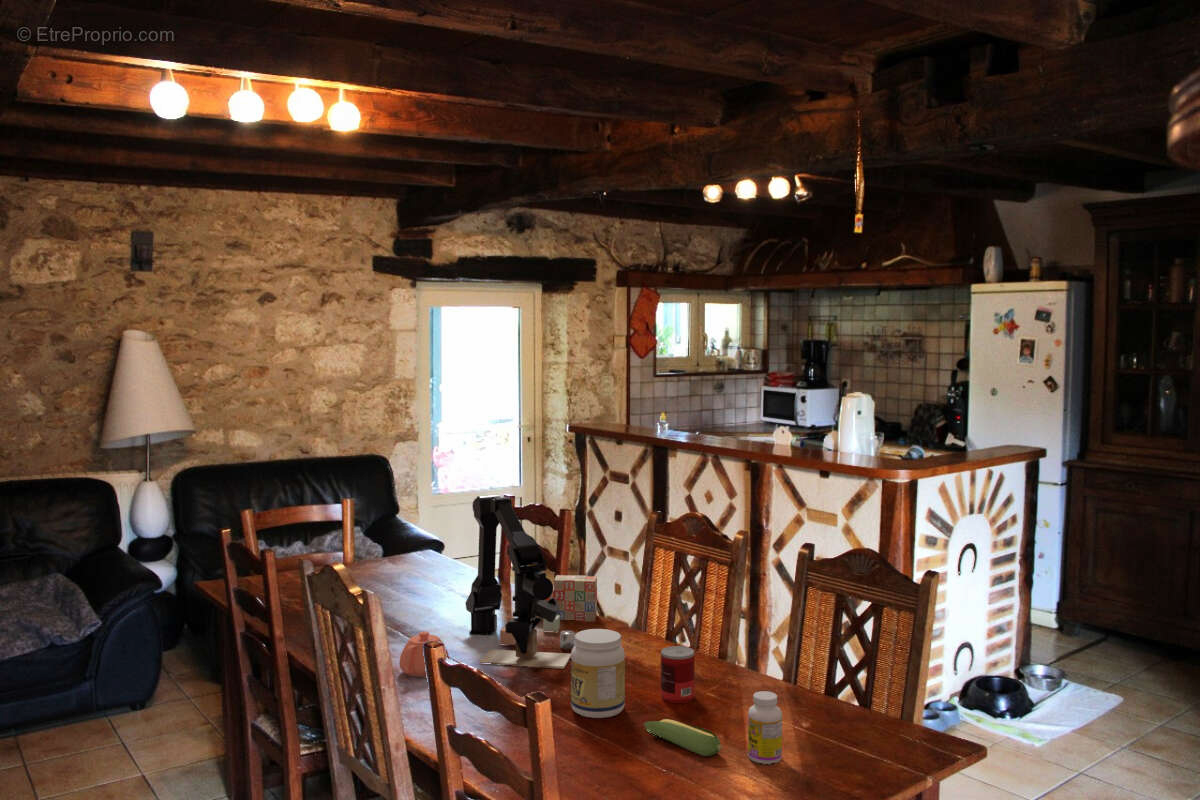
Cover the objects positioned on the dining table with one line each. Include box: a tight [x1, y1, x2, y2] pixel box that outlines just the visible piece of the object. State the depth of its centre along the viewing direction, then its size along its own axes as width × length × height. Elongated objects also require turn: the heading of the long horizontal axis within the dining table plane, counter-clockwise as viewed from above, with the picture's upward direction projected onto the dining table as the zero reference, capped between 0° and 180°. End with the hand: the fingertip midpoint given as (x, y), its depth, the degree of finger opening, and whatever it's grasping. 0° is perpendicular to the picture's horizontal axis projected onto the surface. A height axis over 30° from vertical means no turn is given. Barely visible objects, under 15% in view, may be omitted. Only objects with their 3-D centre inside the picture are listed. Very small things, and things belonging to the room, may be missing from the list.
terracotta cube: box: [499, 626, 516, 646], centre depth 268 cm, size 4×4×4 cm
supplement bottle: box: [747, 690, 783, 765], centre depth 194 cm, size 7×7×13 cm
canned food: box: [660, 645, 695, 704], centre depth 227 cm, size 8×8×11 cm
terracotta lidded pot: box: [399, 631, 450, 679], centre depth 243 cm, size 12×14×10 cm
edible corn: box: [643, 718, 723, 757], centre depth 201 cm, size 5×20×5 cm, turn 44°
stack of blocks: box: [536, 574, 598, 623], centre depth 291 cm, size 21×6×12 cm, turn 85°
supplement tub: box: [570, 628, 626, 719], centre depth 220 cm, size 12×12×17 cm
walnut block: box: [515, 628, 538, 658], centre depth 253 cm, size 4×4×6 cm
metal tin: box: [559, 630, 576, 650], centre depth 264 cm, size 4×4×4 cm
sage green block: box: [542, 615, 561, 633], centre depth 279 cm, size 4×4×4 cm
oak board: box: [479, 649, 571, 670], centre depth 254 cm, size 22×10×1 cm, turn 80°
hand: (526, 650), depth 254 cm, fingers closed on walnut block, 4 cm apart
